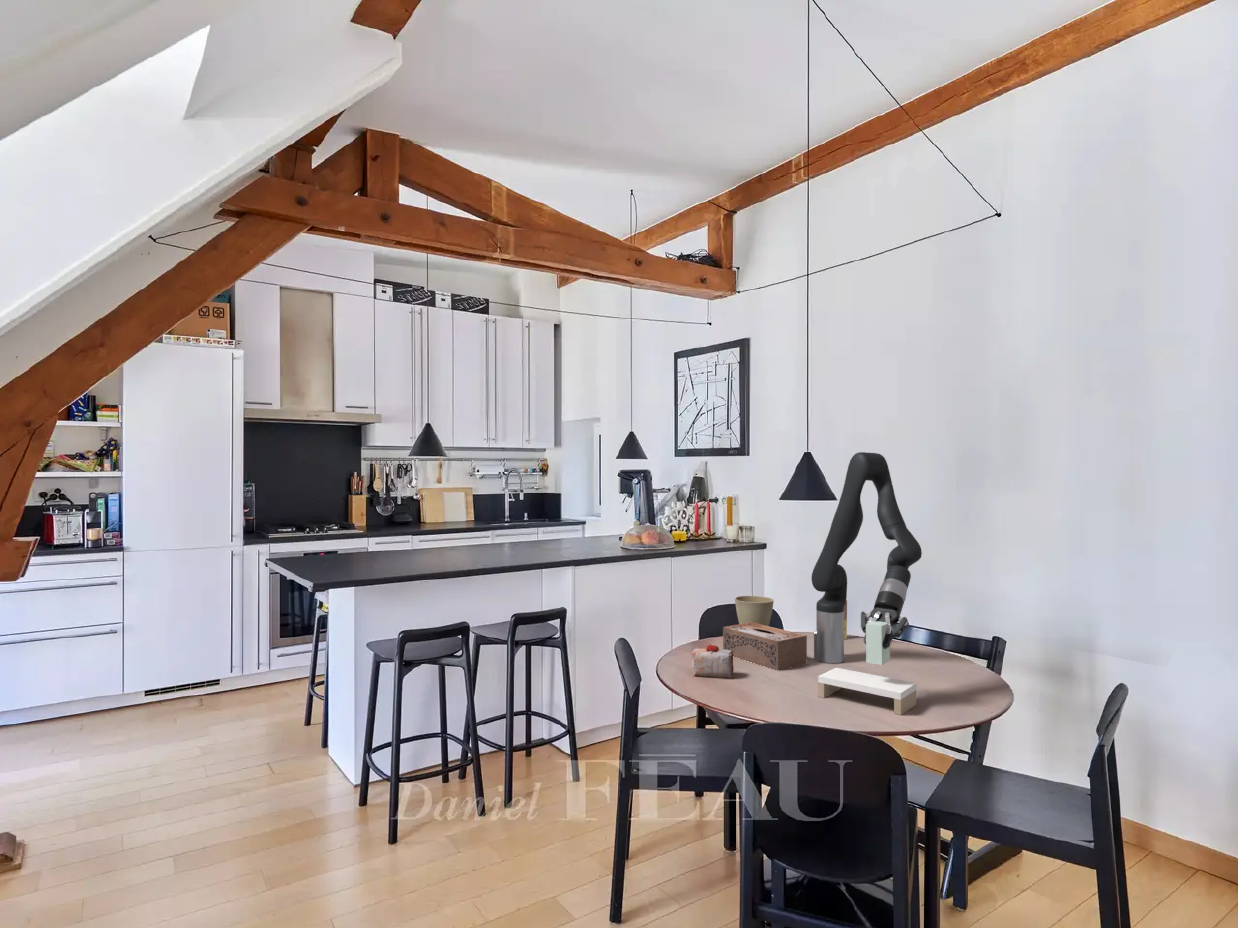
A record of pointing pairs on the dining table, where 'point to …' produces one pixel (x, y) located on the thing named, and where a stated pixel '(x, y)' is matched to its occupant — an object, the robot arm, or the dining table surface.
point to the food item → (712, 662)
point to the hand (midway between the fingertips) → (875, 645)
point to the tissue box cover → (766, 645)
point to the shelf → (869, 687)
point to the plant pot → (754, 609)
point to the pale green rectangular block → (876, 643)
